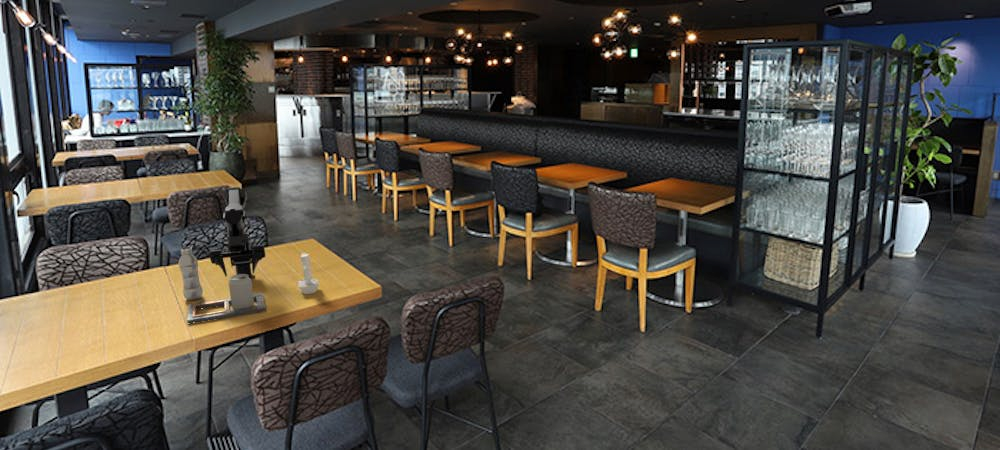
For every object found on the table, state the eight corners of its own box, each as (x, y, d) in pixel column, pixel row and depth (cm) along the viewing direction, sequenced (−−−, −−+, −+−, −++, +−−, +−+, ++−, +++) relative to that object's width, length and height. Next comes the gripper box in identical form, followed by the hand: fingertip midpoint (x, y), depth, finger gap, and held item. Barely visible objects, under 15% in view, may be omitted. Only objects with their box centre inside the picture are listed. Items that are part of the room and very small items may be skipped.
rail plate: (262, 296, 227) (262, 292, 227) (265, 311, 214) (265, 306, 214) (189, 308, 217) (188, 303, 217) (187, 324, 204) (187, 319, 204)
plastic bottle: (207, 296, 228) (200, 246, 223) (193, 303, 222) (185, 251, 217) (194, 294, 230) (186, 244, 225) (180, 300, 224) (171, 250, 219)
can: (249, 311, 214) (245, 280, 211) (228, 311, 215) (224, 280, 211) (257, 303, 222) (253, 272, 218) (237, 303, 222) (233, 272, 218)
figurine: (300, 297, 227) (296, 259, 223) (297, 289, 235) (293, 252, 231) (320, 294, 230) (316, 257, 225) (316, 286, 238) (313, 250, 234)
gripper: (206, 229, 216) (208, 267, 209) (261, 224, 223) (265, 261, 216) (210, 244, 225) (212, 281, 218) (263, 238, 232) (267, 274, 225)
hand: (239, 274), depth 219 cm, fingers open, 9 cm apart
